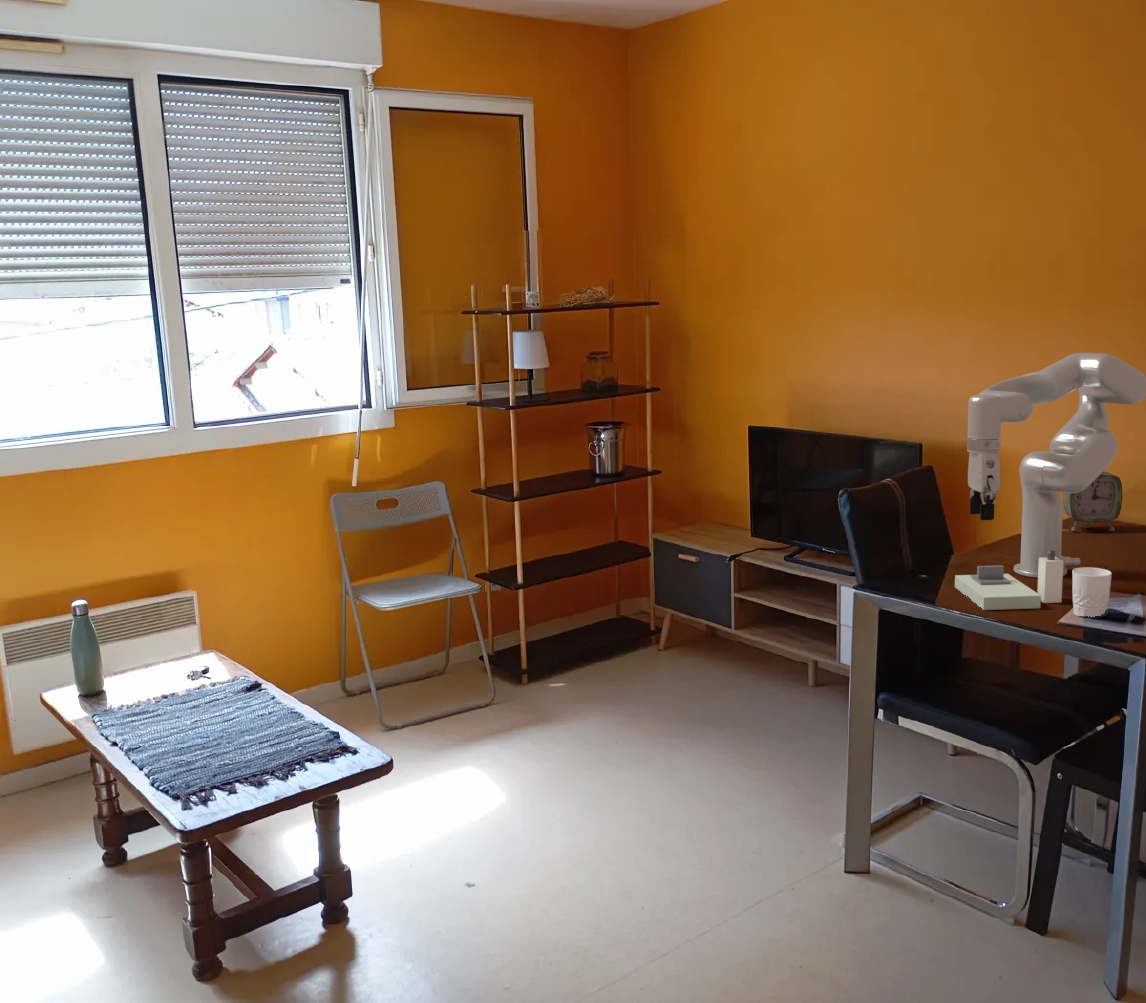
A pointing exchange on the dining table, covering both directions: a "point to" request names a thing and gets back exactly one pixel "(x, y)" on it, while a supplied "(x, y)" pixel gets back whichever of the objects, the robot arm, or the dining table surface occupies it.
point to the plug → (1050, 578)
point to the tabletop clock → (1095, 501)
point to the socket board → (998, 594)
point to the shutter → (990, 575)
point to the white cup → (1090, 591)
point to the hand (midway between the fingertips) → (981, 516)
